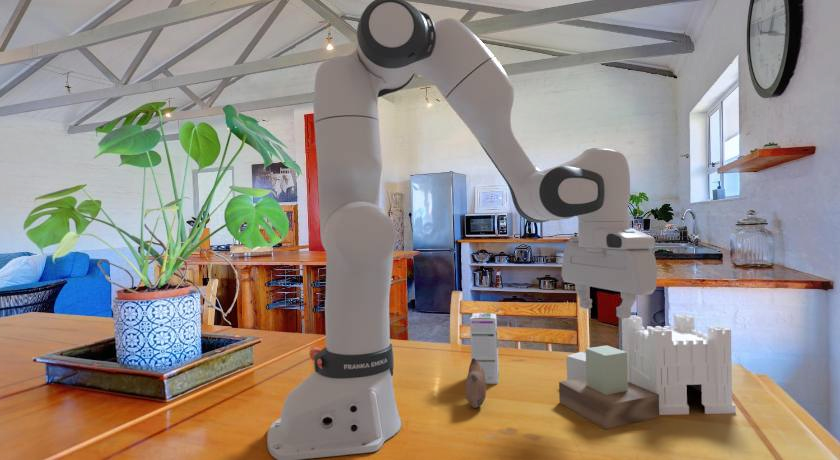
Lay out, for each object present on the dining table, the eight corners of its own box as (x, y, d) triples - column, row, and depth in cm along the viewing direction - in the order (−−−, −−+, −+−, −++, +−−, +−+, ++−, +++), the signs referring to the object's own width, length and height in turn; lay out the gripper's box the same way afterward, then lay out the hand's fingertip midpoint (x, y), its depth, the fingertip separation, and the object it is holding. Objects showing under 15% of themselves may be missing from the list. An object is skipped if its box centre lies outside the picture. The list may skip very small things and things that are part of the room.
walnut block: (605, 429, 73) (604, 405, 73) (559, 402, 84) (559, 381, 84) (659, 417, 77) (658, 394, 77) (608, 393, 88) (608, 373, 88)
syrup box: (498, 384, 95) (496, 317, 94) (471, 383, 96) (469, 317, 96) (498, 375, 100) (497, 312, 100) (473, 374, 101) (471, 312, 101)
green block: (606, 394, 77) (605, 355, 77) (586, 385, 82) (585, 348, 82) (627, 390, 79) (627, 352, 79) (607, 381, 84) (606, 345, 84)
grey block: (587, 390, 90) (586, 361, 90) (567, 383, 94) (566, 355, 94) (601, 384, 93) (601, 356, 93) (581, 378, 97) (580, 351, 97)
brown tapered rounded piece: (465, 394, 90) (464, 355, 89) (484, 394, 89) (484, 355, 89) (465, 413, 81) (464, 370, 81) (487, 413, 80) (486, 370, 80)
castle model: (687, 384, 92) (686, 313, 92) (735, 413, 78) (734, 330, 78) (620, 385, 92) (619, 315, 92) (656, 415, 78) (654, 331, 78)
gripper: (554, 236, 89) (553, 304, 89) (634, 239, 70) (633, 325, 70) (579, 236, 91) (579, 302, 91) (663, 238, 72) (663, 322, 72)
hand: (603, 312), depth 80 cm, fingers open, 8 cm apart
